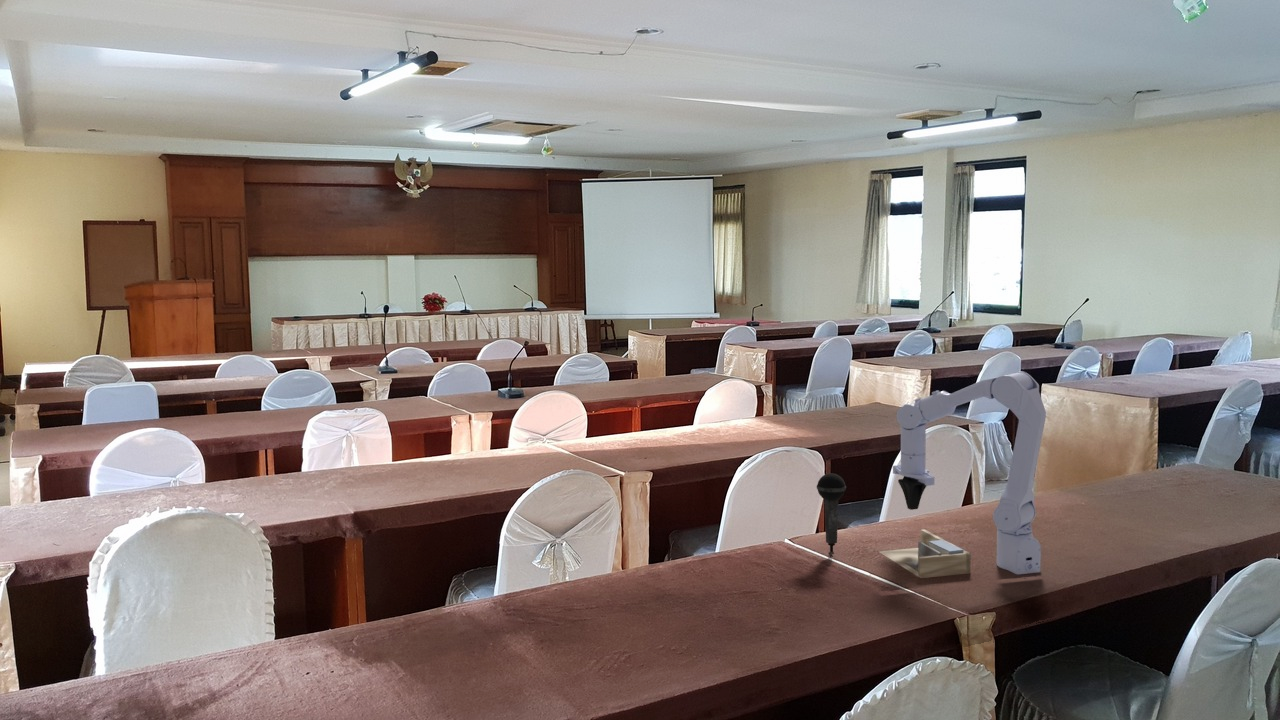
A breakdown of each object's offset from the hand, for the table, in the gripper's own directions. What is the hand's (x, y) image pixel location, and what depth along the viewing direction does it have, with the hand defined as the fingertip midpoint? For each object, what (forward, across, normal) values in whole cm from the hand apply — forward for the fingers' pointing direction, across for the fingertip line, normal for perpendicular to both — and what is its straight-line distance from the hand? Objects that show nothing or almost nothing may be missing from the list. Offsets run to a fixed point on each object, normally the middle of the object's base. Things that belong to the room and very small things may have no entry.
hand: (912, 508), depth 228 cm
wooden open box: (+10, -12, +5) cm, 16 cm away
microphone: (+10, +2, +21) cm, 23 cm away
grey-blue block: (+9, -17, +2) cm, 19 cm away
